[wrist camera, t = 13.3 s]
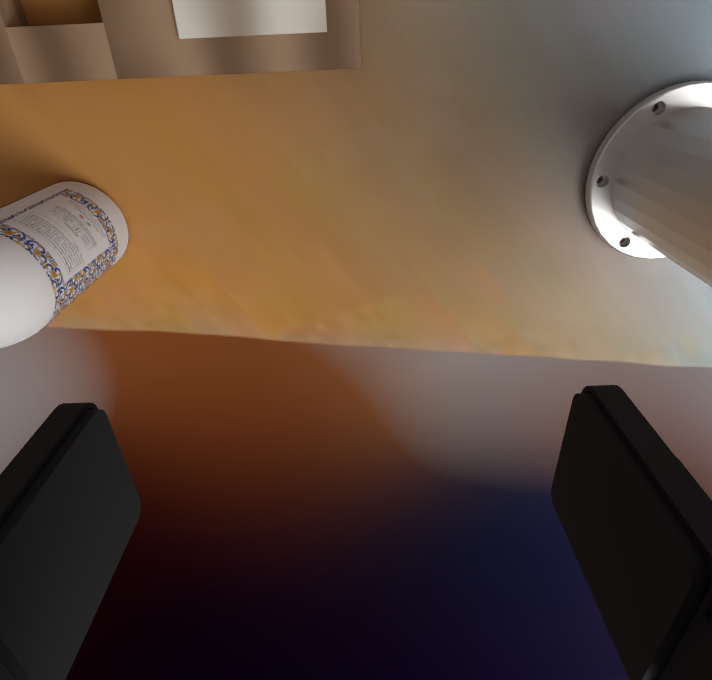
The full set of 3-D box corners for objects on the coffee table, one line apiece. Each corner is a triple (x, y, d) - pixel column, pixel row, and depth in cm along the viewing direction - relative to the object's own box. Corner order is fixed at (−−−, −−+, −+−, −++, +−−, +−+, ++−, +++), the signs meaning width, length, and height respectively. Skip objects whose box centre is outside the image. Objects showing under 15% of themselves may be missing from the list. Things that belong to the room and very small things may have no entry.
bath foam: (58, 268, 40) (-160, 431, 23) (24, 182, 37) (-264, 299, 20) (141, 263, 40) (-17, 424, 23) (115, 177, 37) (-94, 290, 19)
